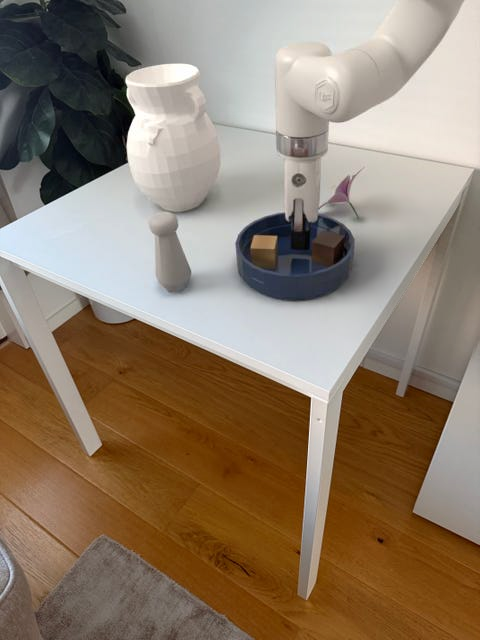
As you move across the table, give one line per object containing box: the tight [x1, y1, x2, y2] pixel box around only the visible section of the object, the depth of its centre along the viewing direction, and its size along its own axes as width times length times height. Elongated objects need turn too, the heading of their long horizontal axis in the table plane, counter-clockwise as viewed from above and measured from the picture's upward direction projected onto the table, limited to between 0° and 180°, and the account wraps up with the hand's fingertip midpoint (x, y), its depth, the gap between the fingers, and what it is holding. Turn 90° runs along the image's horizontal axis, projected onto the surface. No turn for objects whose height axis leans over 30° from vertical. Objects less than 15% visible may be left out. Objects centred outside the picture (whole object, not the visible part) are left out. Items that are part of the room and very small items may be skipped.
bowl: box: [235, 211, 356, 301], centre depth 80 cm, size 19×19×5 cm
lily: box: [319, 166, 365, 220], centre depth 91 cm, size 12×12×10 cm
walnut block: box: [311, 230, 345, 267], centre depth 80 cm, size 4×4×4 cm
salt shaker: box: [148, 210, 192, 293], centre depth 76 cm, size 6×6×13 cm
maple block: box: [250, 235, 278, 269], centre depth 81 cm, size 4×4×4 cm
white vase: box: [125, 63, 221, 213], centre depth 94 cm, size 19×18×25 cm
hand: (300, 247), depth 82 cm, fingers closed
